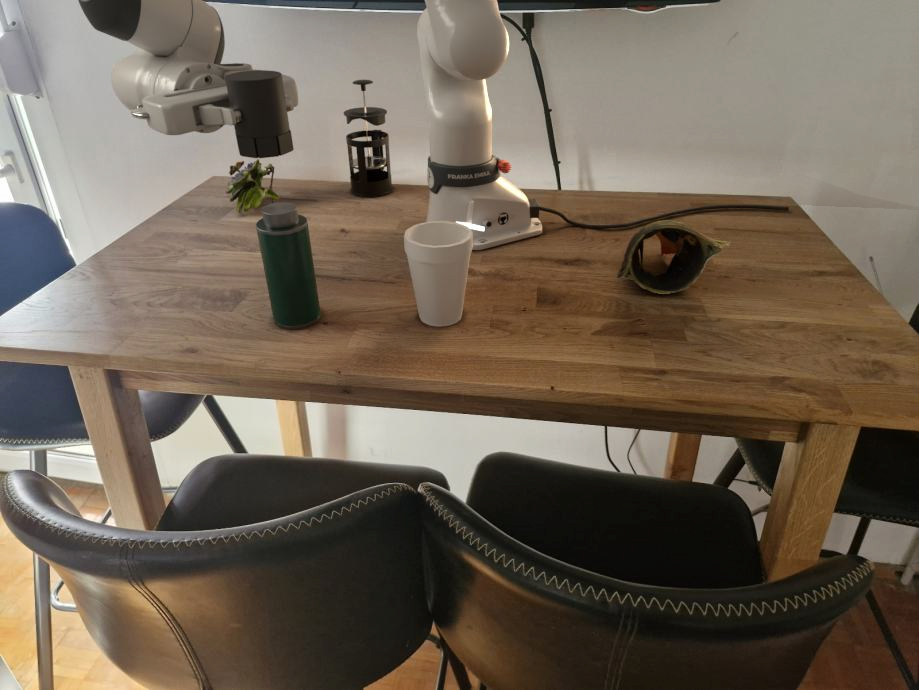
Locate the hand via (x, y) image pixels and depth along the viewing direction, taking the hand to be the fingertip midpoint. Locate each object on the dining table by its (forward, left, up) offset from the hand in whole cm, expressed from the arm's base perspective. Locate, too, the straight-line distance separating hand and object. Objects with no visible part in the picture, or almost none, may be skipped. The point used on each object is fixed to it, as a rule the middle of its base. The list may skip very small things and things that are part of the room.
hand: (264, 110), depth 79 cm
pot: (-57, +9, -30) cm, 65 cm away
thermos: (0, 0, -30) cm, 30 cm away
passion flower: (+1, -51, -30) cm, 60 cm away
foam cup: (-20, +7, -30) cm, 36 cm away
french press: (-24, -52, -30) cm, 65 cm away
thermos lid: (0, -1, -5) cm, 5 cm away
